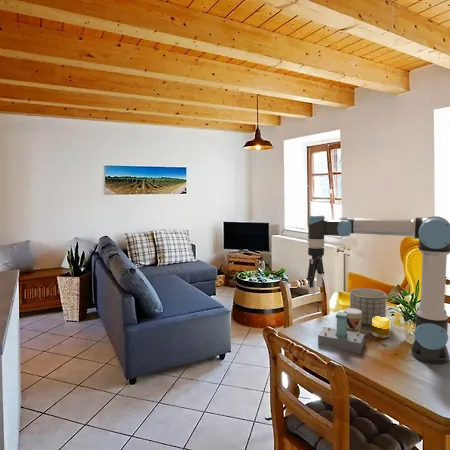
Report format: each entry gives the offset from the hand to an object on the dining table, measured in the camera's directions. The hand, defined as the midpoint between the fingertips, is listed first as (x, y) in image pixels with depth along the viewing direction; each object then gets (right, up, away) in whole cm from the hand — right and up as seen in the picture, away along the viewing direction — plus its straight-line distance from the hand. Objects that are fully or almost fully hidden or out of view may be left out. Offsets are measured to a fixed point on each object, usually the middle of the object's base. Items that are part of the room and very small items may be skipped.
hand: (315, 290), depth 173 cm
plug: (+14, -28, +3) cm, 31 cm away
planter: (+37, -25, +30) cm, 54 cm away
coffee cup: (+24, -26, +18) cm, 40 cm away
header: (+14, -28, +3) cm, 31 cm away
